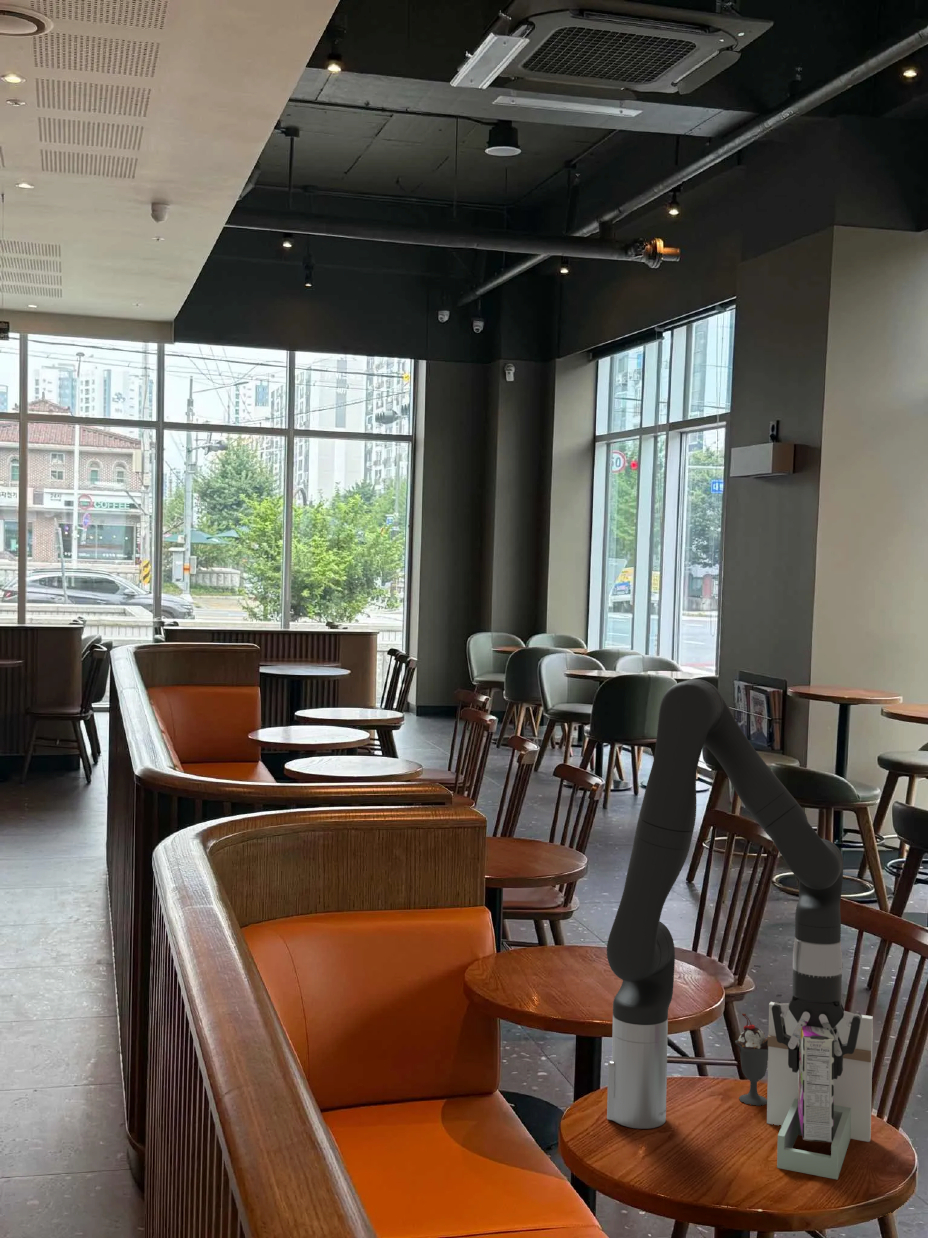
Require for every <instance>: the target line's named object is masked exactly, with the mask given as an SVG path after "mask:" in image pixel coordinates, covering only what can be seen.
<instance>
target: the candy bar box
mask: <svg viewBox="0 0 928 1238" xmlns="http://www.w3.org/2000/svg"><path fill="white" fill-rule="evenodd" d="M798 1046H799V1069H798V1115H799V1120H800V1126H801V1132H802V1140H804V1141H807V1142H818V1143H829V1144H832V1142H833V1139H834V1138H833V1136H834V1036H833V1032H832V1031H830V1030H824V1028H820V1027H814V1026H806V1027H801V1037H800V1039H799V1041H798Z"/></svg>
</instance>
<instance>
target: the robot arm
mask: <svg viewBox="0 0 928 1238" xmlns="http://www.w3.org/2000/svg"><path fill="white" fill-rule="evenodd" d="M658 712H659V713H658V723H657V729H656V730H657V731H656V740H655V749H654V754H653V755H654V756H653V762H652V764H651V768H650V772H649V776H648V779H647V783H646V787H645V790H644V795H643V798H642V799H643V800H642V802H641V807H640V810H639V814H638V820H637V823H636V829H635V833H634V838H633V842H632V843H633V845H632V850H631V855H630V858H629V862H628V867H627V873H626V877H625V883H624V888H623V892H622V895H621V899H620V901H619V905H618V908H617V912H616V915H615V917H614V920H613V923H612V927H611V930H610V931H609V935H608V938H607V939H608V940H607V943H606V944H607V945H606V959H607V963H608V965H609V967H610V969H611V971H612V972H613V974H614V975H615V976H616V977H617V978H619V979H620V980H622V983H621V985H620V987H619V990H618V991H617V993H616V995H615V996H614V998H613V1001H612V1034H611V1035H612V1038H611V1040H612V1042H611V1043H612V1046H611V1047H612V1048H611V1059H610V1060H609V1061H608V1065H607V1097H606V1098H607V1102H606V1104H607V1105H606V1108H607V1109H606V1112H607V1113H606V1119H607V1120H609V1121H613V1122H615V1123H616V1124H619V1125H621V1126H624V1127H627V1128H631V1129H632V1128H633V1129H640V1130H641V1129H654V1128H658V1127H661V1126H663V1125H664V1124H665V1123H666V1121H667V1118H666V1117H667V1086H668V1085H667V1082H668V1081H667V1079H668V1077H667V1076H668V1073H667V1072H668V1070H667V1069H668V1024H669V1008H670V1006H671V1005H670V1004H671V1003H672V999H673V993H674V980H675V979H674V977H675V962H676V951H675V944H674V939H673V936H672V933H671V932H670V930H669V928H668V927H667V926H666V925H665V924H664V923H663V922H662V921H661V915H662V911H663V909H664V906H665V903H666V899H668V895H670V892H671V891H672V888H673V886H674V885H675V883H676V881H677V879H678V877H679V875H680V873H681V871H682V869H683V867H684V865H685V863H686V862H687V861H686V860H687V858H688V855H689V852H690V848H691V844H692V843H691V842H692V839H693V834H694V829H695V826H696V819H697V771H698V767H699V766H698V765H699V761H700V758H701V755H702V751H703V748H704V746H705V747H706V748H707V749H708V750H709V751H710V753H711V754H712V755H713V756H714V758H715V759H716V760H717V762H718V763H719V765H720V766H721V767H722V769H723V770H724V772H725V773H726V776H727V778H728V779H729V781H730V783H731V785H732V787H733V788H734V791H735V793H736V795H737V796H738V798H739V800H740V801H741V803H742V804H743V805H744V807H745V809H746V810H747V811H748V813H749V814H750V815H751V817H752V818H753V819H754V820H755V821H756V823H757V824H758V825H759V827H761V829H762V830H763V832H765V834H766V835H767V836H768V837H769V838H770V839H771V840H772V841H773V843H774V846H775V848H776V849H777V850H778V853H779V854H780V855H781V857H782V858H783V860H784V862H785V864H786V865H787V866H788V868H789V869H790V871H791V872H792V874H793V875H794V876H795V877H796V878H797V880H798V901H797V904H796V908H795V914H794V915H795V916H794V941H793V942H794V943H793V947H792V948H793V949H792V983H791V984H792V985H791V986H792V987H791V988H792V989H791V990H792V991H791V1000H790V1001H789V1002H788V1003H787V1002H783V1003H781V1001H779V1000H778V1001H775V1003H774V1005H773V1006H772V1014H773V1020H774V1027H775V1033H776V1039H777V1041H778V1042H779V1043H783V1044H785V1045H786V1046H787V1047H788V1065H789V1068H792V1072H795V1073H797V1072H798V1069H799V1046H798V1041H799V1039H800V1037H801V1027H806V1026H814V1027H820V1028H824V1030H830V1031H832V1032H833V1036H834V1079H837V1078H838V1076H841V1074H842V1071H843V1055H844V1054H853V1053H854V1050H855V1048H856V1043H857V1038H858V1034H859V1029H860V1024H861V1020H862V1015H863V1014H861V1013H860V1012H855V1013H853V1012H850V1011H846V1010H845V1007H844V1006H843V1004H842V1003H843V1002H842V995H843V993H842V991H843V988H842V987H843V985H842V983H843V982H842V981H843V979H842V978H843V968H844V967H843V966H844V965H843V964H844V963H843V954H842V943H841V938H842V937H841V936H842V929H841V928H842V919H841V916H842V915H841V900H842V899H841V898H842V889H843V881H844V880H843V879H844V857H843V855H842V852H841V850H840V848H839V847H838V846H837V845H836V844H835V843H834V842H832V841H830V840H828V839H825V838H822V837H820V836H819V835H818V833H817V832H816V830H815V829H814V828H813V827H812V826H811V824H810V823H809V820H808V817H807V814H806V812H805V810H804V809H803V807H802V806H801V805H800V804H799V803H798V801H797V799H795V798H794V796H793V795H792V794H791V793H790V791H789V790H788V789H787V788H786V786H784V784H783V783H782V781H781V780H780V778H778V777H777V775H776V774H775V773H774V772H773V771H772V769H771V768H770V767H769V766H768V764H767V763H766V761H764V759H763V757H761V755H760V754H759V753H758V752H757V750H756V749H755V748H754V746H753V745H752V744H751V741H750V740H749V739H748V737H747V736H746V735H745V733H744V732H743V730H742V729H741V727H740V725H739V724H738V722H737V720H736V718H735V717H734V715H733V713H732V712H731V710H730V708H729V707H728V705H727V703H726V701H725V699H724V698H723V696H722V695H721V693H720V691H719V689H718V688H717V687H715V685H713V684H712V683H711V682H708V681H707V680H704V679H700V678H699V679H698V678H692V679H688V680H687V679H686V680H683V681H680V682H677V683H675V684H673V685H672V686H671V687H670V688H668V689H667V690H666V692H665V693H664V695H663V697H662V699H661V701H660V706H659V711H658ZM788 1010H790V1012H791V1013H792V1015H793V1017H794V1018H795V1020H796V1021H797V1023H798V1024H797V1026H796V1028H795V1030H794V1032H793V1035H792V1036H790V1035H788V1034H787V1033H786V1027H785V1021H784V1017H786V1015H787V1011H788ZM842 1018H844V1019H845V1020H846V1025H847V1026H848V1027H849V1028H850V1033H849V1038H848V1042H847V1043H845V1044H842V1041H841V1039H840V1036H839V1032H838V1029H837V1027H836V1025H837V1024H838V1023H839V1022H840V1021H841V1019H842Z"/></svg>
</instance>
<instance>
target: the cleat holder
mask: <svg viewBox="0 0 928 1238" xmlns="http://www.w3.org/2000/svg"><path fill="white" fill-rule="evenodd" d="M775 1002H776V1001H775ZM775 1002H773V1001H770V1002H769V1004H768V1035H767V1037H768V1045H767V1046H768V1063H767V1090H766V1091H767V1094H766V1095H767V1097H766V1099H767V1104H766V1124H769V1125H773V1124H774V1126H779V1125H781V1126H780V1129H779V1132H778V1134H777V1147H776V1149H777V1153H776V1154H777V1155H776V1156H777V1157H776V1160H777V1161H776V1168H777V1169H782V1170H785V1171H792V1172H798V1173H801V1174H802V1173H803V1174H807V1175H811V1176H812V1175H813V1176H817V1177H821V1178H822V1177H823V1178H828V1179H831V1180H836V1181H837V1180H839V1177H840V1173H841V1170H842V1167H843V1164H844V1160H845V1158H846V1154H847V1151H848V1150H847V1149H848V1147H849V1144H850V1142H851V1140H857V1141H861V1142H867V1143H870V1142H871V1137H872V1135H871V1134H872V1128H871V1127H872V1093H873V1091H872V1088H873V1087H872V1084H873V1083H872V1082H873V1079H872V1078H873V1033H874V1031H873V1029H874V1026H873V1025H874V1017H873V1015H872V1016H871V1015H866V1014H865V1015H864V1014H861V1015H862V1020H861V1024H860V1029H859V1034H858V1038H857V1043H856V1048H855V1050H854V1053H853V1054H844V1055H843V1071H842V1074H841V1076H838V1078H837V1079H834V1136H833V1138H834V1139H833V1142H832V1143H831V1146H830V1151H831V1152H830V1153H831V1154H830V1155H829V1154H824V1153H818V1152H812V1151H810V1150H809V1151H807V1150H803V1149H796V1148H794V1145H795V1144H796V1141H797V1138H798V1136H802V1132H801V1126H800V1120H799V1115H798V1072H797V1073H795V1072H792V1068H789V1065H788V1047H787V1046H786V1045H785V1044H783V1043H779V1042H778V1041H777V1039H776V1033H775V1027H774V1020H773V1014H772V1006H773V1005H774V1003H775ZM784 1021H785V1027H786V1033H787V1034H788V1035H790V1036H792V1035H793V1032H794V1030H795V1028H796V1026H797V1024H798V1023H797V1021H796V1020H795V1018H794V1017H793V1015H792V1013H791V1012H790V1010H788V1011H787V1015H786V1017H784ZM836 1027H837V1029H838V1032H839V1036H840V1039H841V1041H842V1044H845V1043H847V1042H848V1038H849V1033H850V1028H849V1027H848V1026H847V1025H846V1020H845V1019H844V1018H842V1019H841V1021H840V1022H839V1023H838V1024H837V1025H836Z"/></svg>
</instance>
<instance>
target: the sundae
mask: <svg viewBox="0 0 928 1238" xmlns="http://www.w3.org/2000/svg"><path fill="white" fill-rule="evenodd" d="M741 1014H742V1016H743V1017H744V1018H745V1019H746V1025H744V1026H743V1032H741V1033H740V1034H739V1037H738V1039H737V1040H735V1042H734V1043H735V1045H736V1046H737V1047H738V1049H739V1056H740V1065H741V1071H742V1073H743V1075H744V1076H745V1078H746V1079H748V1080H749V1082H750V1083H749V1085H750V1086H749V1087H750V1088H749V1092H748V1093H746V1094H741V1095H740V1096H739V1098H738V1100H739V1099H740V1100H739V1101H740V1102H741V1103H742V1102H744V1103H745V1105H747V1104H751V1105H750V1106H752V1105H756V1106H755V1107H761V1105H762V1106H765V1105H767V1097H765V1096H763V1095H759V1093H758V1082H760V1080H763V1078H764V1077H766V1072H767V1070H768V1046H767V1045H768V1036H767V1037H766V1036H765V1032H763V1030H762V1029H761V1028H759V1027H757V1026H756V1025H754V1024H752V1022H751V1020H750V1018H749V1017H748V1016H747V1014H746V1013H741ZM744 1103H743V1104H744Z"/></svg>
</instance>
